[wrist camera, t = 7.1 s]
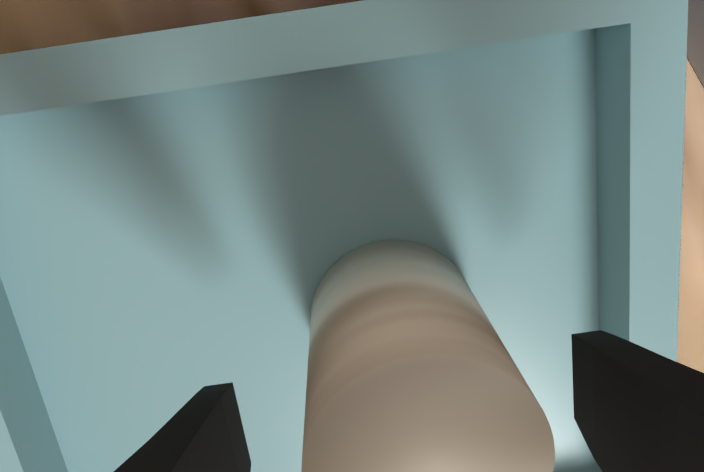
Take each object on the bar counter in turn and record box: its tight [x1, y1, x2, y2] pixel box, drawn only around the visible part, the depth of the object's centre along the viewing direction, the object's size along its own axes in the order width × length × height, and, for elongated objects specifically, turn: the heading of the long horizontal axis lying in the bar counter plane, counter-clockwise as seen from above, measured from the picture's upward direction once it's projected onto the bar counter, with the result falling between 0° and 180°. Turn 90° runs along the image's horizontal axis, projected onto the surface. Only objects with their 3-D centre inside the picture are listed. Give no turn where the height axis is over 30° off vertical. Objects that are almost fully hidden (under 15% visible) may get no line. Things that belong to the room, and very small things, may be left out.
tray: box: [0, 0, 688, 472], centre depth 15 cm, size 16×18×2 cm
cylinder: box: [301, 240, 555, 472], centre depth 13 cm, size 4×4×6 cm
